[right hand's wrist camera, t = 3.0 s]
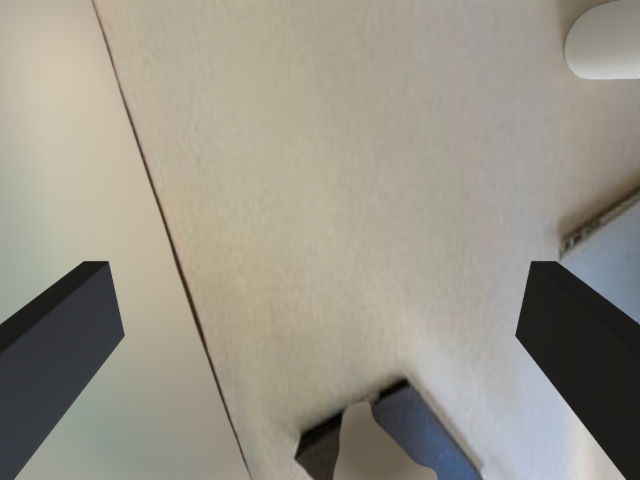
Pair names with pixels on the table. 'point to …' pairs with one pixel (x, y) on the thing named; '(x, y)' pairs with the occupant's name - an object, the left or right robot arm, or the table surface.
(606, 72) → the bottle
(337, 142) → the table surface
